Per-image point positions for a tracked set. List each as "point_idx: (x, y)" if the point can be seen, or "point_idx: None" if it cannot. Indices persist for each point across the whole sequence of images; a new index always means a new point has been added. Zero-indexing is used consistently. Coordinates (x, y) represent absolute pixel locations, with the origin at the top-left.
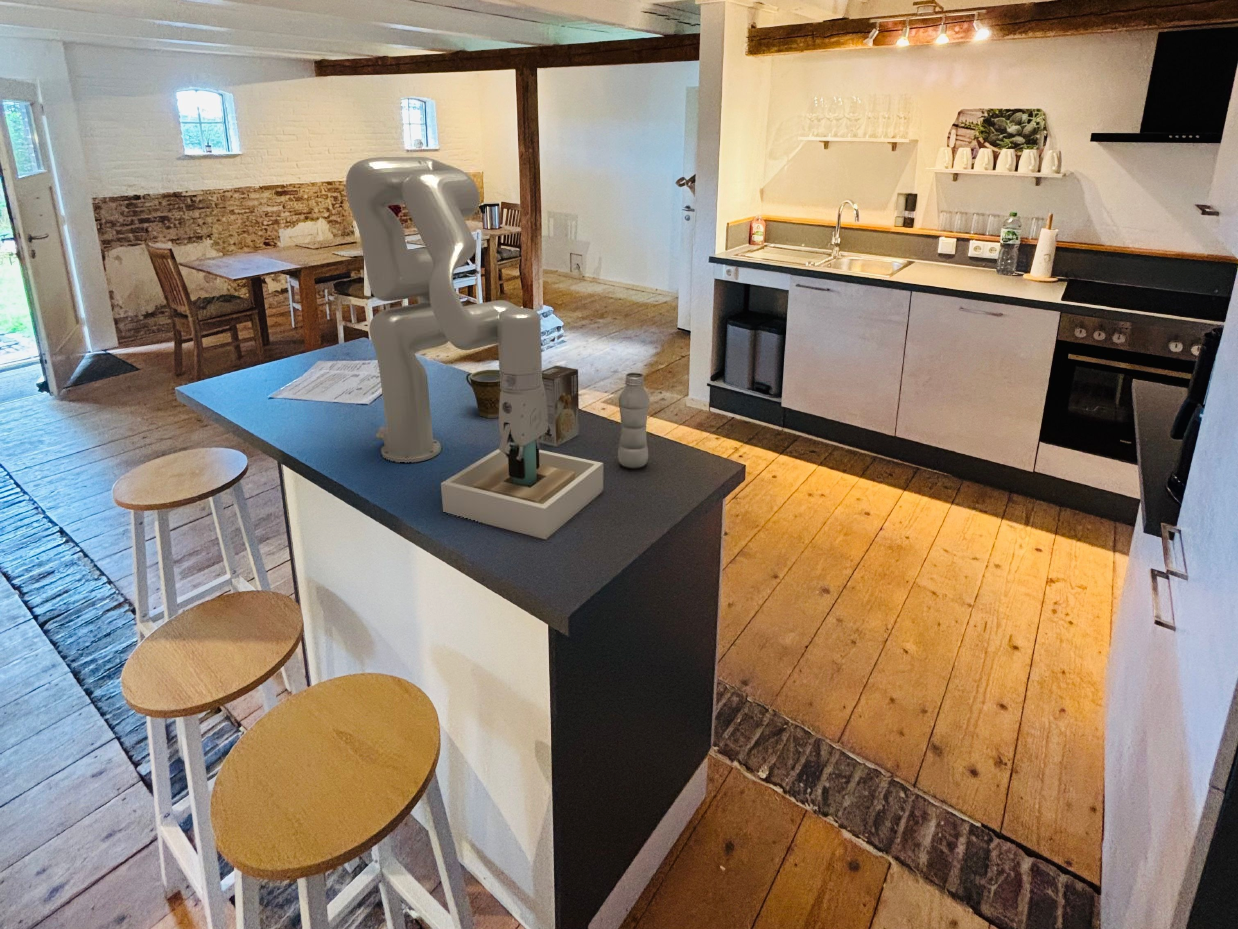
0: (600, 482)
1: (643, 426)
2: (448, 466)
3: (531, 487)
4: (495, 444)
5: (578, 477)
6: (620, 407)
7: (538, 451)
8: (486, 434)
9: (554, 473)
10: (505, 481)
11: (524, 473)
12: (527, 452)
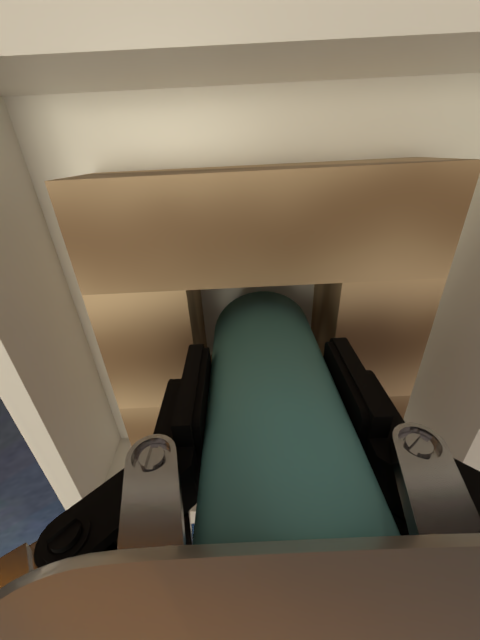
0: None
1: None
2: (191, 525)
3: (336, 279)
4: (28, 522)
5: (145, 40)
6: None
7: (181, 414)
8: (8, 552)
9: (138, 274)
10: None
11: (343, 350)
12: (349, 446)
